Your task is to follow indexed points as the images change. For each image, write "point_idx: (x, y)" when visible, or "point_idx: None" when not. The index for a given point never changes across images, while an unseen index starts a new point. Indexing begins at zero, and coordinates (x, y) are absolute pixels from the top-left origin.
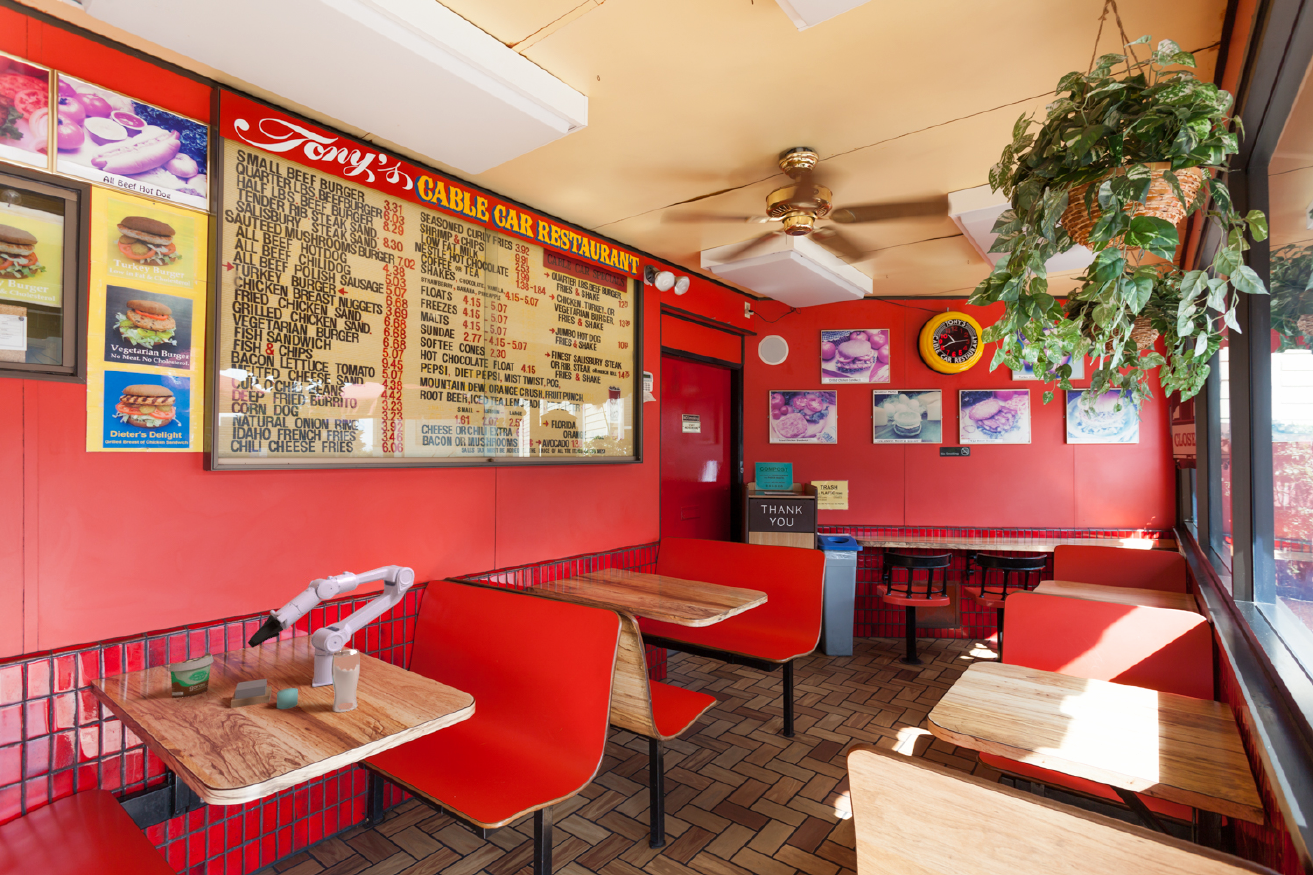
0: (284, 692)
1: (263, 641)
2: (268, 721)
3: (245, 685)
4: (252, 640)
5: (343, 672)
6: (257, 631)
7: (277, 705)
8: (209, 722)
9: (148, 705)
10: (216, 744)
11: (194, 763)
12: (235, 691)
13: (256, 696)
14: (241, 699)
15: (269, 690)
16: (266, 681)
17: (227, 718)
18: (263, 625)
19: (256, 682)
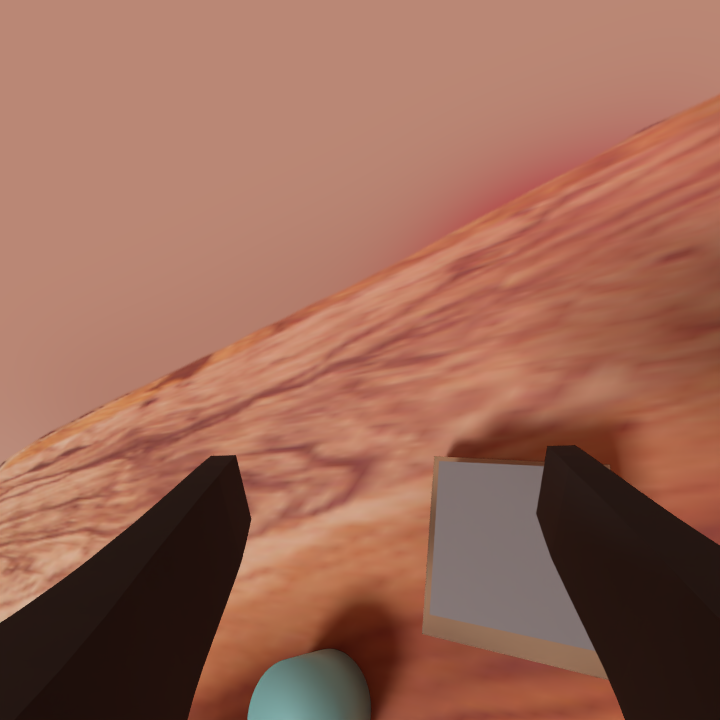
0: (280, 700)
1: (604, 660)
2: None
3: (505, 508)
4: (236, 481)
5: None
6: (143, 519)
7: (315, 651)
8: (327, 409)
9: (651, 183)
10: (161, 445)
11: (109, 415)
12: (440, 463)
13: None
14: (434, 497)
15: (525, 651)
16: (569, 644)
17: (328, 458)
18: (23, 617)
19: (539, 573)
